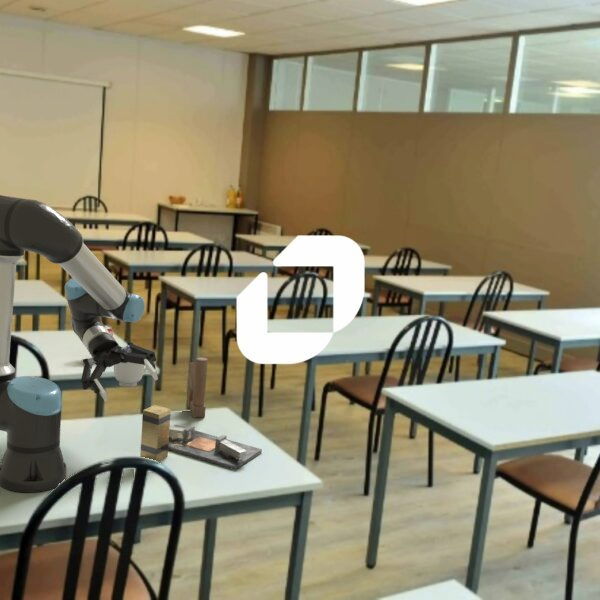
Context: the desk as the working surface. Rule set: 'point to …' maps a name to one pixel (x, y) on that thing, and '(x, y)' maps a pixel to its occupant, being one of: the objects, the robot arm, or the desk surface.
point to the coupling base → (210, 447)
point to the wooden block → (197, 387)
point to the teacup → (129, 373)
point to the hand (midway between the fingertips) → (131, 386)
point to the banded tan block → (155, 433)
